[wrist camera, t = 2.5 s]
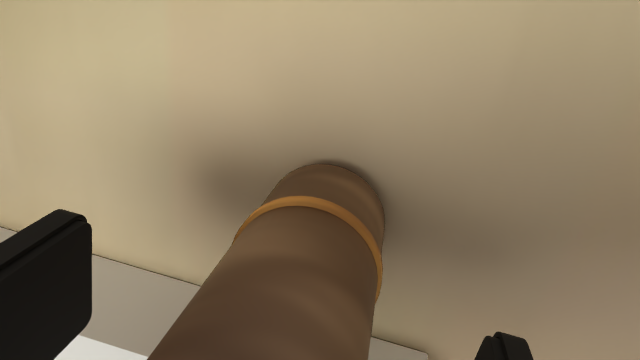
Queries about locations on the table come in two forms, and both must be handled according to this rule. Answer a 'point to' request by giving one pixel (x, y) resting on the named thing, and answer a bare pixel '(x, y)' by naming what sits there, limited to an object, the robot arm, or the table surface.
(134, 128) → the table surface
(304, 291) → the peg
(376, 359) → the board
